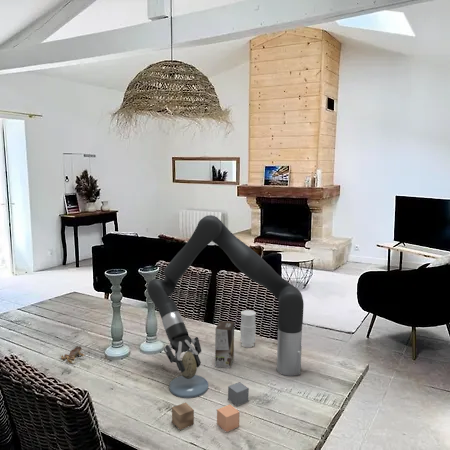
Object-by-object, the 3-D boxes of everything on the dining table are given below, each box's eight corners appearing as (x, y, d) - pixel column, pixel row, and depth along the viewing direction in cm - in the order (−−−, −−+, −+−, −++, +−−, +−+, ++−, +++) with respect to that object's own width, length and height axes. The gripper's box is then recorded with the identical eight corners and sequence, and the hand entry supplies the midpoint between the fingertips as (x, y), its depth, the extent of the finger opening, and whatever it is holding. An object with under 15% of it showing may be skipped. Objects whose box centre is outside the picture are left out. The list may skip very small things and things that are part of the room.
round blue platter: (212, 380, 157) (212, 377, 157) (201, 400, 144) (201, 397, 144) (177, 375, 161) (177, 372, 161) (163, 394, 147) (163, 391, 147)
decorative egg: (190, 383, 148) (190, 357, 146) (176, 379, 151) (176, 353, 149) (199, 376, 153) (200, 350, 151) (186, 372, 156) (186, 346, 154)
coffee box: (230, 368, 167) (230, 330, 164) (214, 366, 168) (214, 328, 165) (234, 358, 175) (234, 321, 173) (219, 356, 177) (219, 320, 174)
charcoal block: (239, 395, 148) (239, 381, 147) (248, 401, 144) (248, 388, 143) (228, 399, 145) (228, 386, 144) (236, 406, 141) (237, 392, 140)
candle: (237, 346, 186) (238, 314, 184) (243, 340, 193) (243, 309, 191) (252, 349, 184) (253, 316, 182) (257, 342, 190) (258, 311, 188)
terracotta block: (229, 418, 134) (229, 404, 134) (239, 426, 130) (239, 411, 130) (216, 424, 131) (217, 409, 131) (226, 432, 127) (226, 417, 127)
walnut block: (185, 416, 135) (185, 402, 134) (193, 424, 131) (193, 409, 130) (172, 422, 132) (171, 407, 131) (179, 430, 128) (179, 415, 127)
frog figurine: (69, 351, 182) (69, 342, 181) (93, 355, 178) (93, 346, 178) (51, 363, 171) (50, 354, 170) (76, 367, 167) (76, 358, 167)
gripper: (160, 326, 151) (177, 370, 143) (194, 318, 159) (211, 359, 152) (154, 335, 156) (169, 378, 148) (187, 326, 164) (203, 367, 157)
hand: (191, 368), depth 150 cm, fingers closed on decorative egg, 6 cm apart
